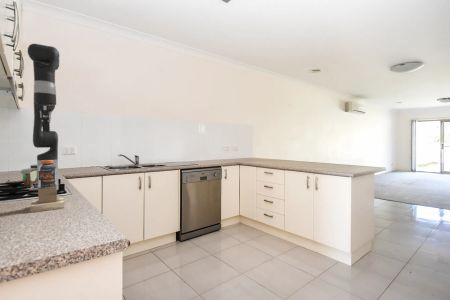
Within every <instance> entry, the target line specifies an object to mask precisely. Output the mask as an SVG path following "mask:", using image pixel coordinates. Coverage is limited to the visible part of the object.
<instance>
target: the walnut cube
mask: <svg viewBox="0 0 450 300" xmlns="http://www.w3.org/2000/svg"><path fill="white" fill-rule="evenodd" d="M37 191H38V194H37V195H38V200H39V204H41V203H50V202H57V198H58V194H57V193H58V190H57V185H56V186H55V187H51V188H38V187H37Z"/></svg>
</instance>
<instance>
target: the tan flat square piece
mask: <svg viewBox="0 0 450 300" xmlns="http://www.w3.org/2000/svg"><path fill="white" fill-rule="evenodd" d="M29 206H30V207H29V208H30V209H29V212H30V213H38V212H43V211H52V210H60V209H61V210H62V209H64V208H65V198H64V197H57V202H50V203H41V204H39V199H38V200H37V199H36V200H32V201H31V204H30V205H29Z"/></svg>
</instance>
